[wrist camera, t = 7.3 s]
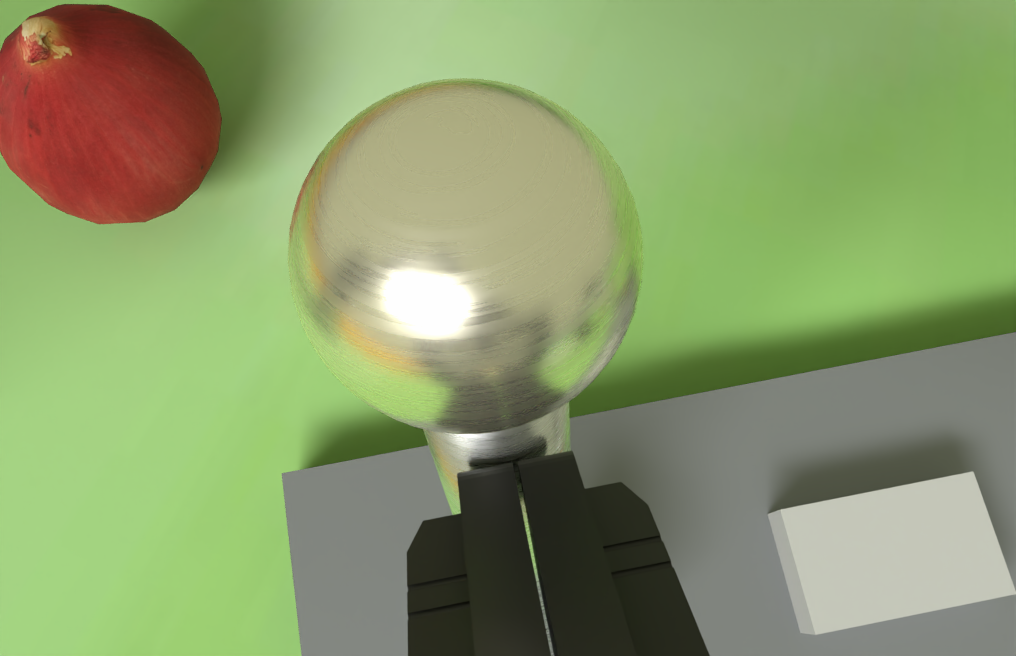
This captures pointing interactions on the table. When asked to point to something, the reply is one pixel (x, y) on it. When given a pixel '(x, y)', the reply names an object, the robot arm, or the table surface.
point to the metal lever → (467, 268)
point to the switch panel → (743, 512)
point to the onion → (105, 113)
